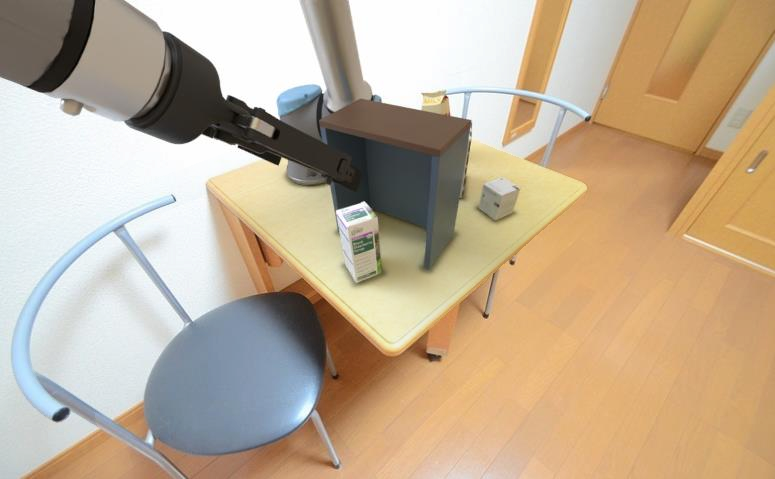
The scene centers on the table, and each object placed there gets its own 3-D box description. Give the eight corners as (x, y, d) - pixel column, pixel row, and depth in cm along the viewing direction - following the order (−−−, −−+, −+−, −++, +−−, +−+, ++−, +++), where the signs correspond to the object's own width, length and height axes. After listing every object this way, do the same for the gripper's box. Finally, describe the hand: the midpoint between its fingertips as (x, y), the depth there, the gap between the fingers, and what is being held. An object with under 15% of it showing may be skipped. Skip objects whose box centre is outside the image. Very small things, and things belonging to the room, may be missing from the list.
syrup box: (356, 284, 62) (347, 227, 52) (344, 265, 66) (335, 208, 56) (382, 273, 63) (378, 216, 54) (369, 255, 67) (364, 199, 58)
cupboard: (338, 232, 73) (318, 120, 56) (368, 204, 81) (360, 98, 64) (428, 270, 64) (440, 149, 46) (453, 234, 72) (471, 119, 54)
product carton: (477, 208, 79) (482, 183, 74) (495, 200, 81) (501, 175, 76) (495, 221, 75) (502, 195, 70) (513, 213, 77) (521, 187, 72)
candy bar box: (446, 175, 91) (452, 118, 80) (464, 176, 90) (473, 119, 79) (443, 197, 83) (450, 137, 71) (462, 199, 82) (472, 138, 71)
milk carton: (451, 153, 100) (459, 86, 87) (438, 165, 95) (445, 96, 81) (425, 146, 104) (429, 81, 91) (412, 158, 98) (414, 90, 85)
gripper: (51, 97, 28) (244, 170, 47) (235, 168, 18) (385, 224, 37) (77, 16, 28) (261, 123, 47) (280, 40, 18) (408, 164, 37)
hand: (316, 168), depth 42 cm, fingers open, 13 cm apart
